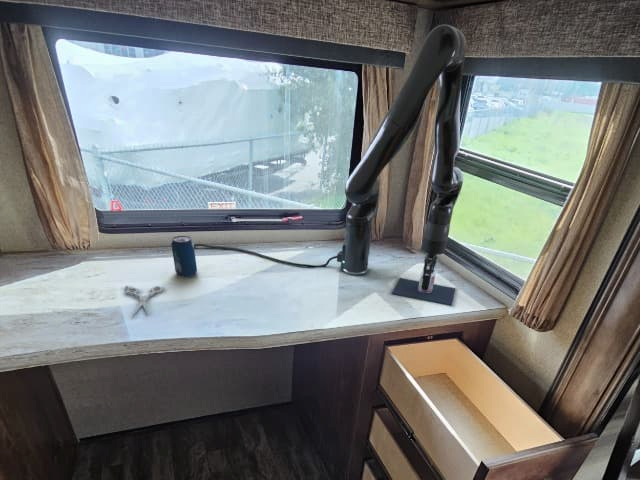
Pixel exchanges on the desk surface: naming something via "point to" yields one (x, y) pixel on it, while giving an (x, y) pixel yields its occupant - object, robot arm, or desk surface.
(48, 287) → the desk surface
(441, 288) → the mat
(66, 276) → the desk surface
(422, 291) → the pill bottle
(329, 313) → the desk surface
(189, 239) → the soda can
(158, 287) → the scissors
